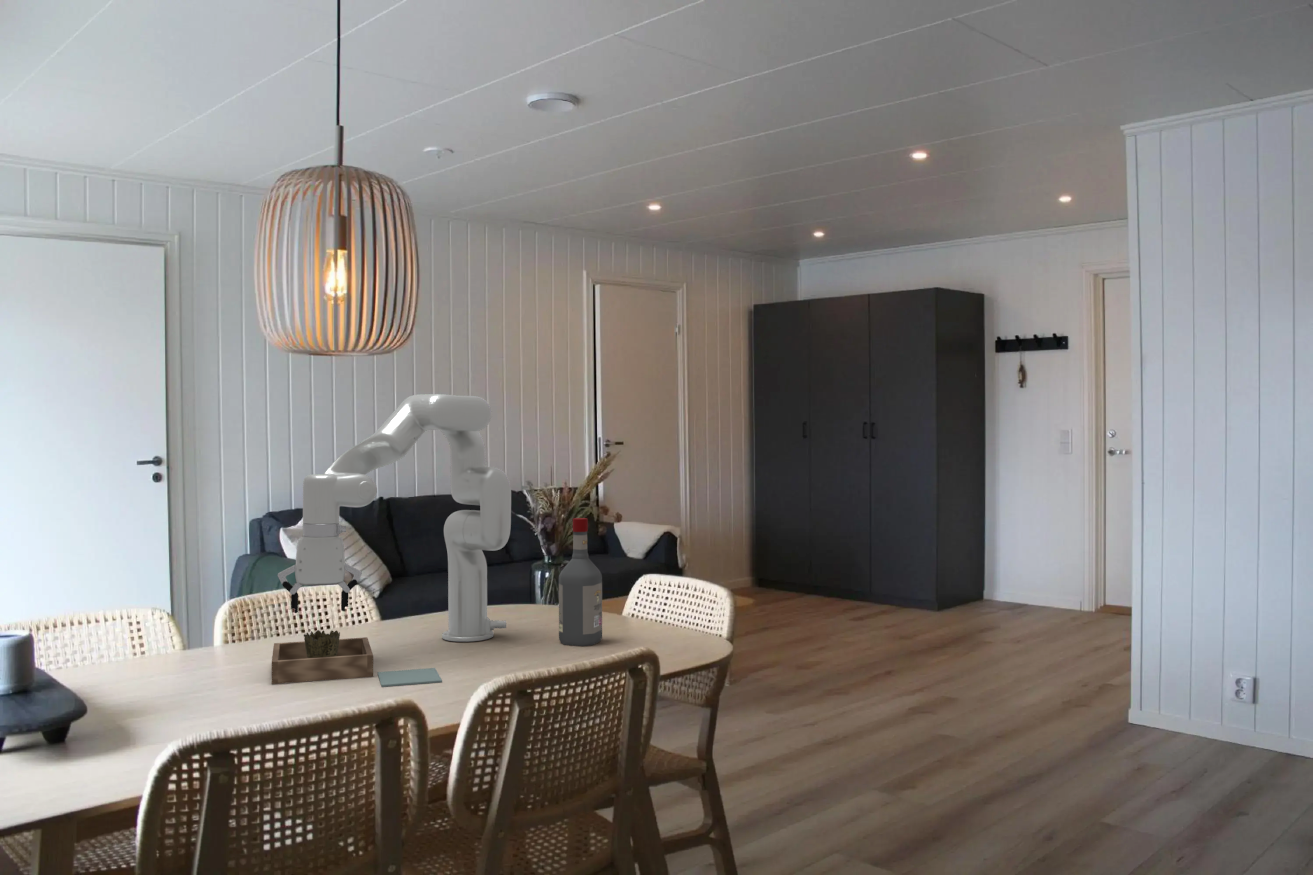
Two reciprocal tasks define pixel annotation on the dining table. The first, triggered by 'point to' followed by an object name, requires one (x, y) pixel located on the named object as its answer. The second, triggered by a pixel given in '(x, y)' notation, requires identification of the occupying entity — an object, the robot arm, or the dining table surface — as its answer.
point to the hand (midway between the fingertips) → (319, 611)
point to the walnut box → (321, 662)
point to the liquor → (580, 594)
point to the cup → (322, 644)
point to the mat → (409, 677)
